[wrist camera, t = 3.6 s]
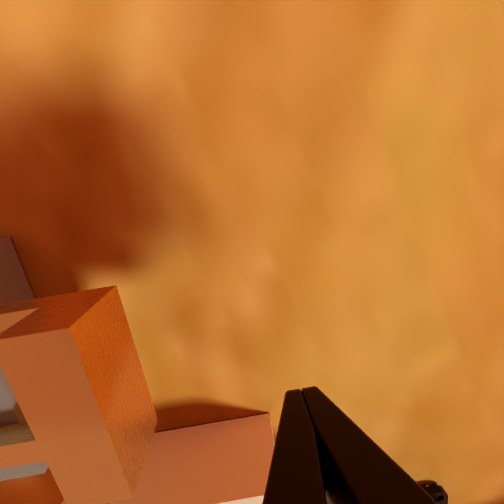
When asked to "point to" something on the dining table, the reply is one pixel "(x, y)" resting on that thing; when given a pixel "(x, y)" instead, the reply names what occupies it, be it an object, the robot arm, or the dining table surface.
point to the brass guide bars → (76, 393)
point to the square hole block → (207, 464)
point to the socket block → (3, 400)
